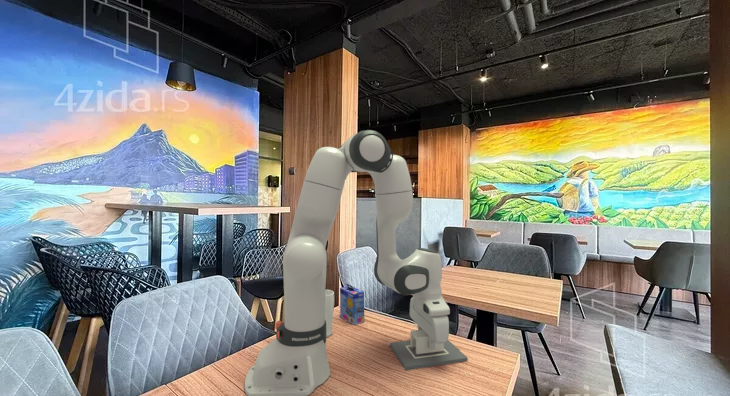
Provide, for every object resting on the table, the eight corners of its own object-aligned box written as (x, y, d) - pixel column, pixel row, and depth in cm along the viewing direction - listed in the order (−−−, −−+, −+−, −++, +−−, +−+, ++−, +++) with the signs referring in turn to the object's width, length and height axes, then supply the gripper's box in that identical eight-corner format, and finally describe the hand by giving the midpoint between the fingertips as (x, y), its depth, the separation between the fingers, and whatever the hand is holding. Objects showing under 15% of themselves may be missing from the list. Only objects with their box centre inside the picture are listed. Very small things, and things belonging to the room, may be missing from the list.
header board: (405, 370, 84) (405, 356, 84) (389, 345, 97) (389, 333, 97) (467, 361, 88) (467, 347, 88) (444, 339, 102) (444, 327, 102)
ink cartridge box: (339, 317, 119) (339, 281, 119) (349, 314, 123) (350, 279, 123) (353, 325, 112) (354, 288, 112) (364, 321, 115) (365, 285, 115)
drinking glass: (330, 339, 101) (330, 296, 101) (312, 337, 102) (312, 294, 102) (336, 331, 107) (336, 290, 107) (318, 329, 109) (319, 288, 109)
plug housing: (416, 354, 89) (417, 337, 89) (410, 346, 94) (410, 330, 94) (443, 350, 91) (443, 334, 91) (435, 342, 96) (436, 327, 96)
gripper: (405, 290, 102) (404, 329, 102) (433, 313, 82) (432, 362, 82) (422, 288, 103) (421, 327, 104) (453, 311, 84) (452, 359, 84)
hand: (426, 343), depth 93 cm, fingers closed on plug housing, 5 cm apart
